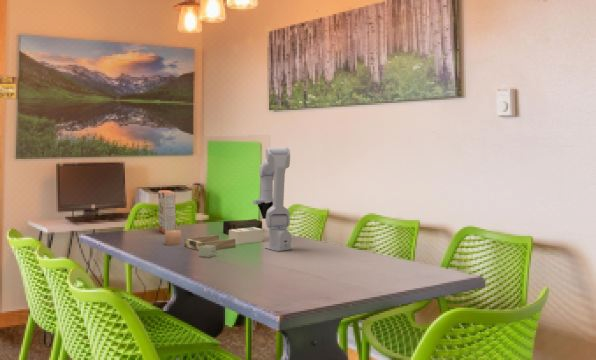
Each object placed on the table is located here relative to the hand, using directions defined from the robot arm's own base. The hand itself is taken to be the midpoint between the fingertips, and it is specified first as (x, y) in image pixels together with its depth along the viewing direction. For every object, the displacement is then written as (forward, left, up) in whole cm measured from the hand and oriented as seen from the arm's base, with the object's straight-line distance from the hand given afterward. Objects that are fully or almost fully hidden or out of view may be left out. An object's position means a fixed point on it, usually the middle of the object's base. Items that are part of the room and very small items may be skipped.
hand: (266, 218), depth 275 cm
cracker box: (+46, +28, -10) cm, 55 cm away
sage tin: (-16, +43, -10) cm, 47 cm away
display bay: (0, +31, -10) cm, 33 cm away
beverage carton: (+22, -2, -10) cm, 25 cm away
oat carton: (0, +12, -10) cm, 16 cm away
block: (+16, +41, -10) cm, 45 cm away
